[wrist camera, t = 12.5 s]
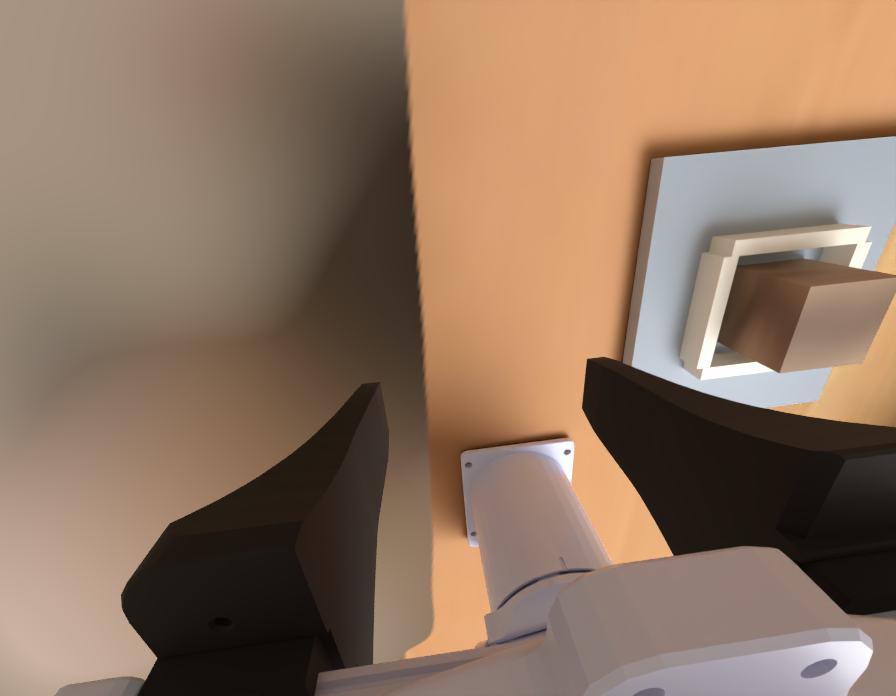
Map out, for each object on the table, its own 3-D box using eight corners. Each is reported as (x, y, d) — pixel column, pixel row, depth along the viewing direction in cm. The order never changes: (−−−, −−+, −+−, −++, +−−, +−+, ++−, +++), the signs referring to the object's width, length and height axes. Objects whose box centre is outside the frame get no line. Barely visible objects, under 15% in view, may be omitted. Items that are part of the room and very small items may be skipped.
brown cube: (779, 330, 22) (862, 363, 18) (711, 338, 21) (779, 373, 17) (804, 258, 20) (902, 276, 16) (729, 266, 20) (810, 286, 16)
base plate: (803, 393, 25) (842, 413, 23) (614, 417, 25) (634, 441, 22) (908, 135, 18) (977, 128, 16) (651, 158, 18) (686, 154, 16)
